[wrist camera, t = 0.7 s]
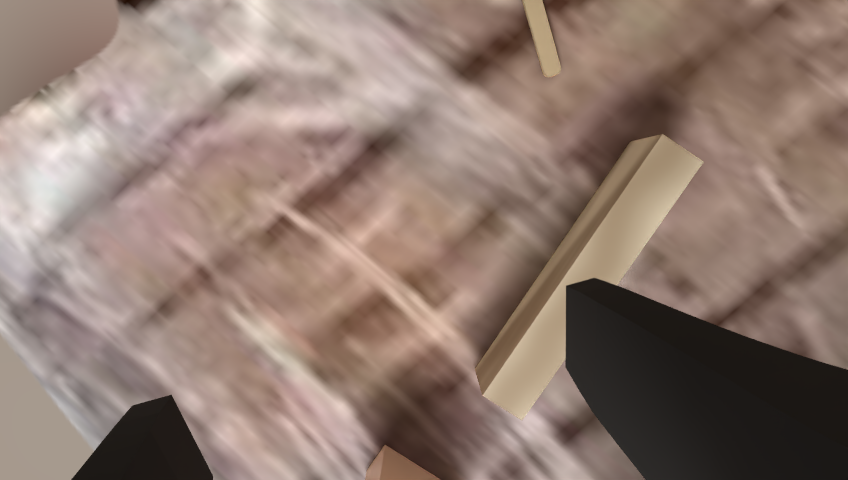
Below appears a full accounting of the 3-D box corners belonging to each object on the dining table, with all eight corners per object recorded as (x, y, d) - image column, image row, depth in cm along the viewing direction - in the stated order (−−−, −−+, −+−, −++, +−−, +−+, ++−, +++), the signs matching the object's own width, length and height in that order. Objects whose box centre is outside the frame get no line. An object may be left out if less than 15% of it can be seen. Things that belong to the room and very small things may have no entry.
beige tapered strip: (663, 165, 28) (703, 161, 24) (508, 389, 29) (522, 420, 25) (628, 141, 28) (662, 134, 24) (474, 367, 29) (482, 395, 25)
